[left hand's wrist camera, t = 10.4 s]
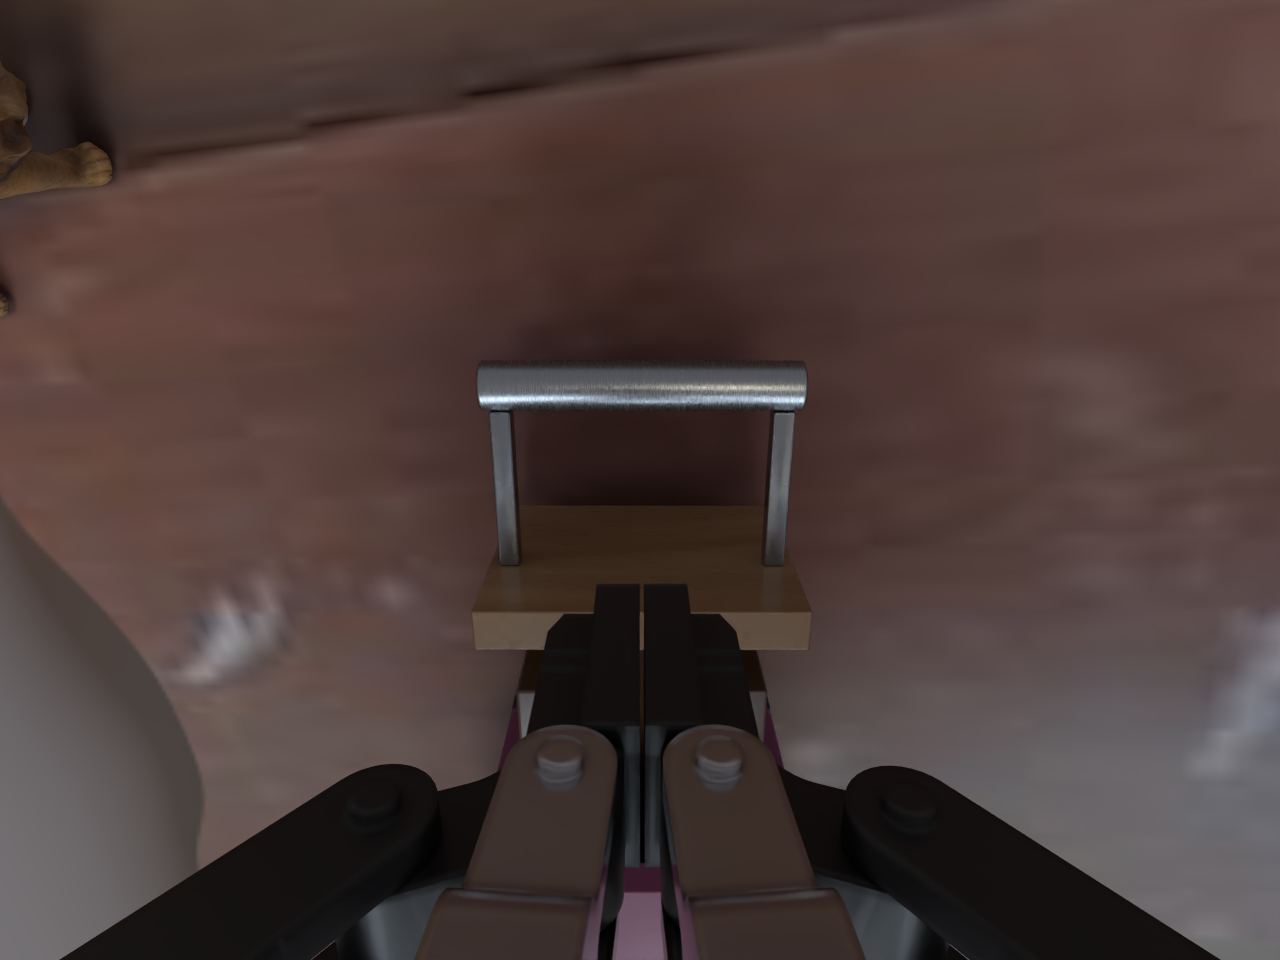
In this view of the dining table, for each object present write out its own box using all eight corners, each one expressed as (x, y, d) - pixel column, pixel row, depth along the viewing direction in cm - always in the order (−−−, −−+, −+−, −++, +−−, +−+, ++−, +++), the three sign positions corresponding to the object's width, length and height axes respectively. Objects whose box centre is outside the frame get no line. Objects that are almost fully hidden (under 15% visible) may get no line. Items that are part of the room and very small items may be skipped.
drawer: (501, 331, 24) (449, 387, 18) (781, 332, 24) (834, 387, 18) (539, 905, 34) (514, 1084, 27) (742, 905, 34) (767, 1084, 27)
